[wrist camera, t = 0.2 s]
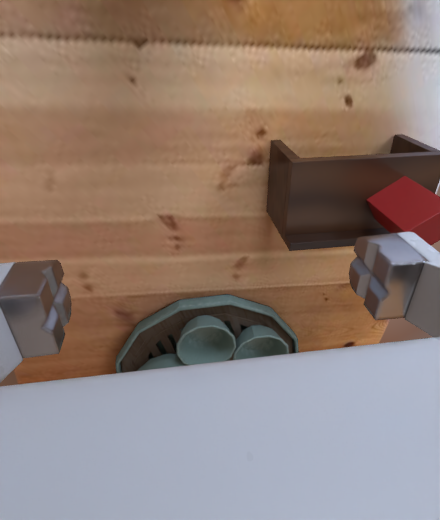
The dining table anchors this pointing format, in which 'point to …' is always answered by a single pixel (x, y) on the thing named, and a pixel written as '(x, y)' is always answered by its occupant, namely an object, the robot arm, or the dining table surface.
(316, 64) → the dining table surface
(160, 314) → the tea set
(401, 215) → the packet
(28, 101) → the dining table surface
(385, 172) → the shelf
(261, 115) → the dining table surface
